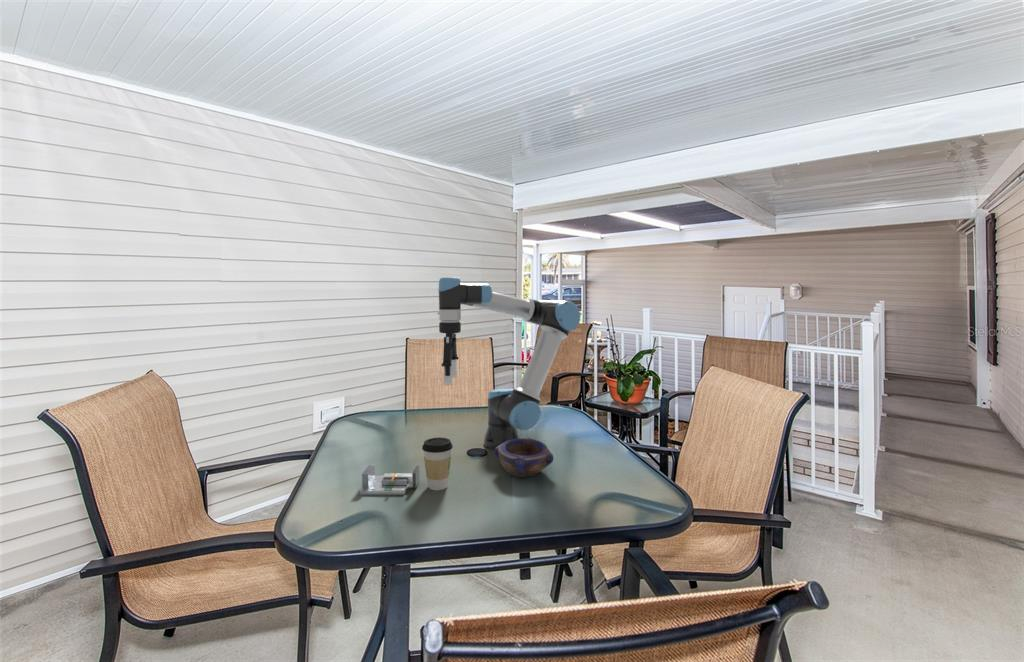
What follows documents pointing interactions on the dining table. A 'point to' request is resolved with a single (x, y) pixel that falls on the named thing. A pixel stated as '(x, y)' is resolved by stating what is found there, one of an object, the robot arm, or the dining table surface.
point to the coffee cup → (437, 462)
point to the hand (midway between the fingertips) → (450, 381)
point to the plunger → (405, 476)
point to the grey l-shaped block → (381, 484)
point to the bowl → (523, 456)
